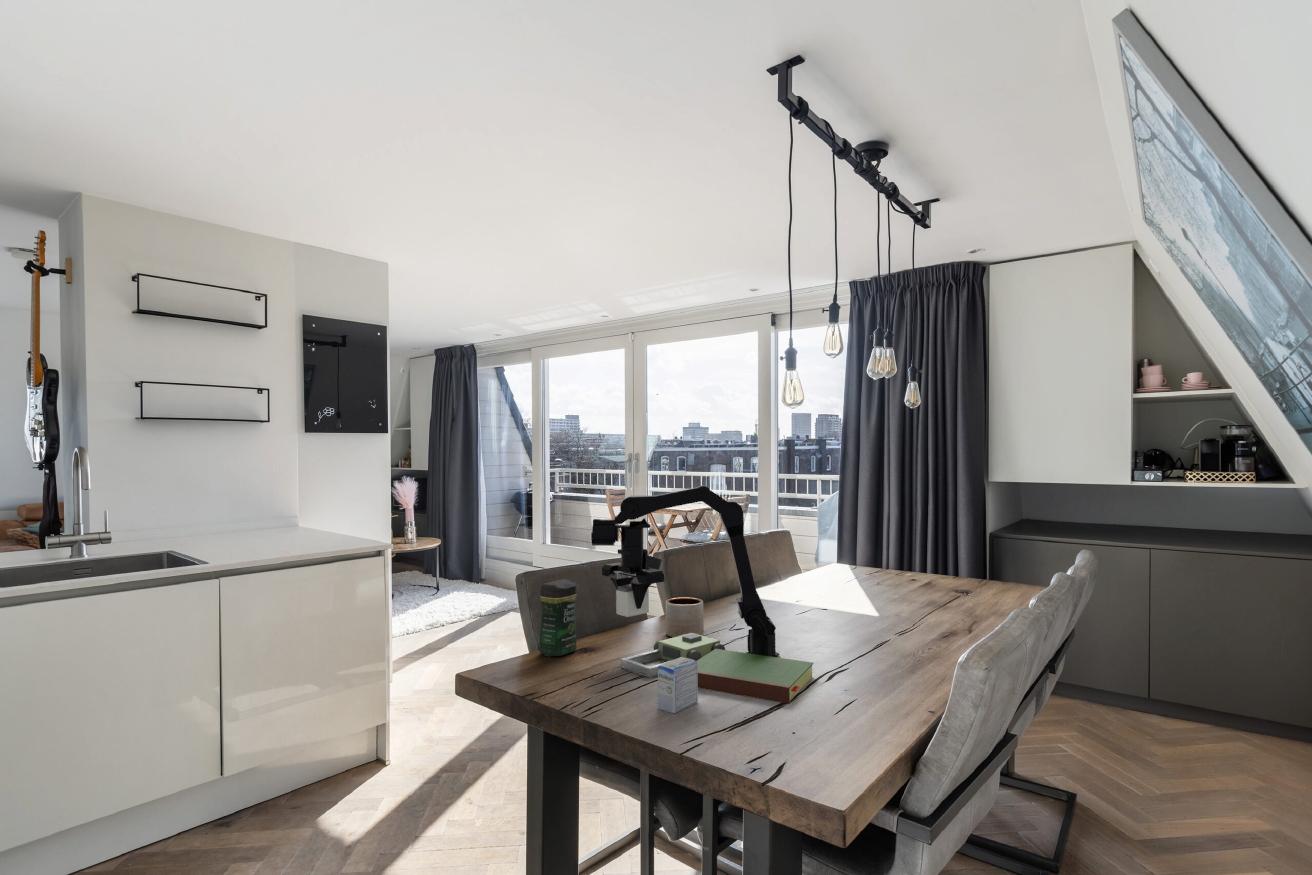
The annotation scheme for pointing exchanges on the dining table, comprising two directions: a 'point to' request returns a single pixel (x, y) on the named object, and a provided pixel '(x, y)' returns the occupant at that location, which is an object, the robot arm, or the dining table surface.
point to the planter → (684, 616)
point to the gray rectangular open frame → (636, 664)
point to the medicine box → (677, 684)
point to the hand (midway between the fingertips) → (632, 606)
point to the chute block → (629, 602)
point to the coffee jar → (558, 618)
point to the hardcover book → (753, 675)
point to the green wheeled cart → (687, 646)
